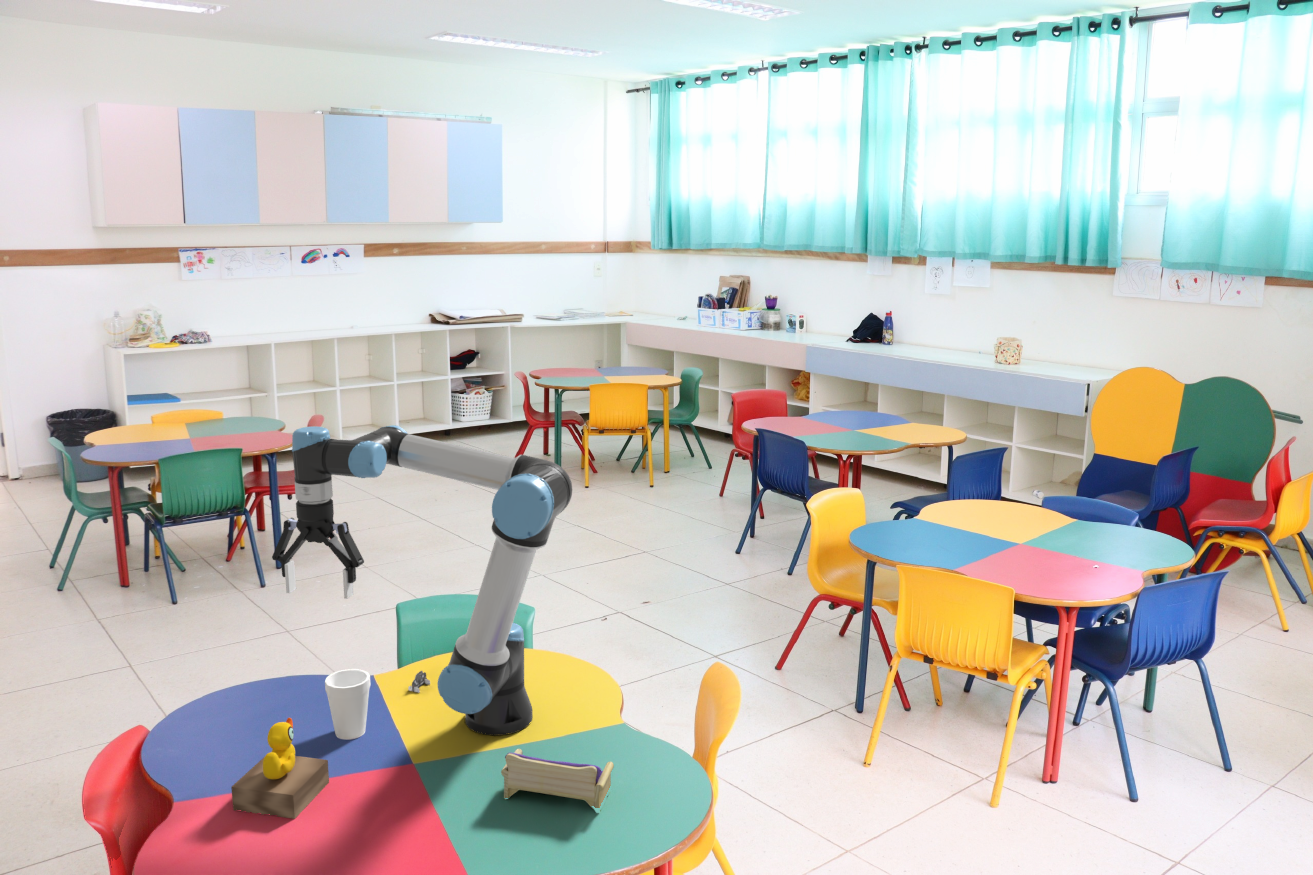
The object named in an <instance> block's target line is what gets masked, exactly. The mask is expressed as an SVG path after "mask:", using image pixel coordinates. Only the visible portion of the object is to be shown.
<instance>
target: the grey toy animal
mask: <svg viewBox="0 0 1313 875" xmlns="http://www.w3.org/2000/svg"><path fill="white" fill-rule="evenodd" d="M424 685H431V680H430V679H428V678H427V672H425V671H424V672H423V670H420V671H418V672H417V673H416V674H415V676H414V679H413V680H412V682H411V685H409V686H408V691H410V692H413V693H421V690H420V688H421V687H422V686H424Z"/></svg>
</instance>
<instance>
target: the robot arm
mask: <svg viewBox="0 0 1313 875" xmlns="http://www.w3.org/2000/svg"><path fill="white" fill-rule="evenodd" d="M291 438H292V443H291V444H292V447H291V448H292V449H291V452H292V453H291V454H292V461H293V470H294V471H293V472H294V493H295V499H296V500H297V501H296V502H295V507H296V508H295V510H296V518H297V520H296V519H295V518H294V517H290V518H288V519H286V520H284V521H283V530H282V532H281V535H280V537H279V540H278V542H277V545H276V546H275V549H274V552H273V554H272V556H271V559H272V560H273V561H278V562H280V565H281V575H282V578H285V590H286V591H285V593H286V594H291V593H292V592H294V591H296V589H297V580H296V578H297V577H296V566H295V560H292V559H293V557H294V556H295V555H296V553H297V552H298V551H299V550H300V548H301V547H302V546H303V545H304V544H305V542H306V541H307V543H317V544H324V545H325V546H326V547H328V548H329V549H330V550H331V552H332V553H333V555H335V557H336V558H338V560H339V561H340V562H341V564H342V565H343V566H344V568H343V569H342V580H343V581H342V583H343V598H344V599H345V600H347V599H350V598H351V597H352V596H353V595H354V583H355V582H356V581H357V568H358V567H360V566H362V565H363V564H364V563H365V560H364V557H363V555H362V554H361V552H360V550H359V548H358V546H357V544H356V543H355V541H354V538H353V536H352V534H351V533H350V529H349V524H348V522H347V521H343V522H342V523H341V522H340V523H335V521H334V514H335V511H334V500H333V499H332V498H333V497H334V494H333V492H334V491H333V480H332V478H333V477H332V476H333V475H334V476H343V477H351V478H352V477H354V478H358V479H359V478H361V479H368V478H370V479H371V478H373V479H375V478H378V477H380V476H381V475H382V474H383V471H385V469H386V466H387V465H390V466H394V467H399V468H404V469H409V470H413V471H417V472H421V473H425V474H429V475H434V476H438V477H442V478H447V479H449V480H455V481H457V482H458V481H459V482H463V483H468V484H471V485H475V486H480V487H485V488H488V489H493V490H496V493H495V495H494V497H493V500H492V503H491V515H492V519H493V521H492V525H491V531H492V533H493V535H494V536H495V540H494V544H493V547H492V549H491V553H490V557H489V560H488V563H487V566H486V569H485V572H484V576H483V579H482V582H481V586H480V588H479V591H478V595H477V598H476V602H475V604H474V606H473V607H474V608H473V610H472V614H471V617H470V620H469V623H468V627H467V631H466V633H465V634H462V635H461V636H459V637H458V638H457V639H456V641H455V644H454V646H453V647H454V648H453V651H452V654H451V657H450V660H449V663H447V666H445V667H444V668H443V669H442V670H441V672H440V674H439V676H438V679H437V690H438V693H439V696H440V697H441V698H442V699H443V700H442V701H443V702H444V703H445V705H447V707H449V708H451V710H453V711H455V712H458V713H459V714H464V716H465V725H466V727H468V728H469V729H470V730H471V731H473V732H475V733H477V734H481V735H486V736H504V735H508V734H509V735H510V734H514V733H517V732H519V731H522V730H524V729H526V728H527V727H528V726H530V724H531V723H532V721H533V706H532V703H531V700H530V698H529V696H528V692H527V689H526V687H525V686H526V685H525V638H524V637H525V635H524V629H523V627H522V626H521V625H519V624H517V623H515V622H514V620H515V617H516V613H517V611H518V608H519V605H520V602H521V598H522V595H523V593H524V590H525V587H526V584H527V580H528V577H529V574H530V571H531V567H532V565H533V561H534V560H535V555H536V553H537V550H539V549H542V548H544V547H545V546H546V545H547V543H548V540H549V537H550V534H551V530H552V528H553V525H554V522H555V519H556V517H557V516H559V515H560V514H561V513H562V512H564V510H565V509H566V508H567V507H568V506H569V504H570V502H571V499H572V495H573V484H572V481H571V477H570V476H569V474H568V472H566V470H565V469H564V468H563V467H561V465H559V464H558V463H556V462H553V461H550V460H547V459H543V458H538V457H534V456H530V455H525V454H519V455H518V456H516V457H512V456H509V455H508V456H507V455H503V454H499V453H495V452H490V451H484V450H481V449H477V448H473V447H472V448H471V447H468V446H464V445H460V444H459V445H458V444H454V443H451V442H445V441H441V440H437V439H432V438H429V437H428V438H427V437H423V436H419V435H414V434H410V433H408V432H407V431H406V430H405V429H404V428H402V427H401V426H399V425H393V424H390V425H386V426H381V427H379V428H378V429H376V430H373V431H371V432H370V433H367V434H363V435H362V436H360V437H357V438H354V439H335V438H331V435H330V431H329V429H328V428H327V427H323V426H305V427H300V428H297V429H296V430H294V431H293V433H292V437H291ZM295 529H297V530H298V532H299V535H298V536H297V537H296V538H295V540H294V542H293V543H292V544H291V545H290V547H288V545H289V543H290V540H291V538H292V535H293V533H294V530H295ZM334 531H335V532H334ZM335 533H336V534H338V536H337V535H336V534H335ZM338 537H339V538H338ZM339 540H340V541H339ZM287 547H288V549H287ZM286 549H287V551H286ZM530 722H531V723H530ZM529 723H530V724H529ZM523 728H524V729H523Z"/></svg>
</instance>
